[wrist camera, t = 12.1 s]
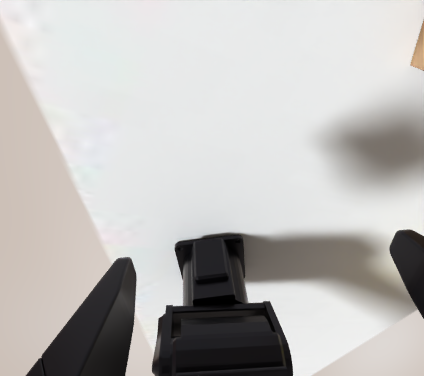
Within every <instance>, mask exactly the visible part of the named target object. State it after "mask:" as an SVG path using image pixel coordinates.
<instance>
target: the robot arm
mask: <svg viewBox="0 0 424 376" xmlns="http://www.w3.org/2000/svg"><path fill="white" fill-rule="evenodd" d="M179 247H181V248H179ZM175 253H176V256H177V260H178V264H179V268H180V271H181V275H182V279H183V306H173V305H166V314H163V316H162V317H160V318H159V321H158V334H157V342H156V347H155V352H154V358H153V364H152V372H153V374H154V375H155V376H293V366H292V359H291V354H290V349H289V346H288V343H287V340H286V337H285V335H284V333H283V330H282V328H281V326H280V324H279V321H278V319H277V317H276V314H275V312H274V310H273V307H272V305H271V303H270V301H264V302H263V303H248V298H247V293H246V288H245V283H244V278H245V267H244V247H243V238H242V236H241V235H233V236H225V237H217V238H209V239H201V240H193V241H185V242H178V243H176V244H175ZM390 254H391V256H392V258H393V261H394V263H395V265H396V267H397V269H398V271H399V274H400V276H401V278H402V280H403V282H404V284H405V286H406V289H407V291H408V293H409V294H410V296H411V298H412V300H413V302H414V303H415V305H416V307H417V308H418V310H419V312H420V313H421V315H422V317H423V318H424V236H422V235H420V234H419V233H417V232H415V231H413V230H399V231H397V232H396V234H395V236H394V238H393V240H392V243H391V245H390ZM135 296H136V272H135V269H134V266H133V263H132V260H131V258H130V257H124V258H118V259H117V260H116V261H115V262H114V263H113V265H112V266H111V267H110V269H109V270H108V271H107V272H106V274H105V275H104V276H103V277H102V279H101V280H100V281H99V283H98V284H97V285H96V286H95V288H94V289H93V290H92V291H91V293H90V294H89V295H88V297H87V298H86V299H85V301H84V302H83V303H82V304H81V306H80V307H79V308H78V310H77V311H76V312H75V313H74V315H73V316H72V317H71V319H70V320H69V321H68V322H67V324H66V325H65V326H64V327H63V329H62V330H61V331H60V333H59V334H58V335H57V337H56V338H55V339H54V340H53V342H52V343H51V344H50V346H49V347H48V348H47V349H46V351H45V352H44V353H43V354H42V358H40V359H38V361H37V362H36V363H35V365H34V366H33V367H32V368H31V370H30V371H29V372H28V374H27V375H26V376H125V372H126V367H127V361H128V355H129V350H130V344H131V338H132V332H133V325H134V313H135Z"/></svg>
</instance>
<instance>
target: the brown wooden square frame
mask: <svg viewBox="0 0 424 376" xmlns="http://www.w3.org/2000/svg"><path fill="white" fill-rule="evenodd" d="M410 65H411V66H413V67H416V68H418V69H421V70H423V71H424V21H423V24H422V28H421V31H420V34H419V38H418V41H417V44H416V48H415V51H414V54H413V58H412V61H411V64H410Z"/></svg>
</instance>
